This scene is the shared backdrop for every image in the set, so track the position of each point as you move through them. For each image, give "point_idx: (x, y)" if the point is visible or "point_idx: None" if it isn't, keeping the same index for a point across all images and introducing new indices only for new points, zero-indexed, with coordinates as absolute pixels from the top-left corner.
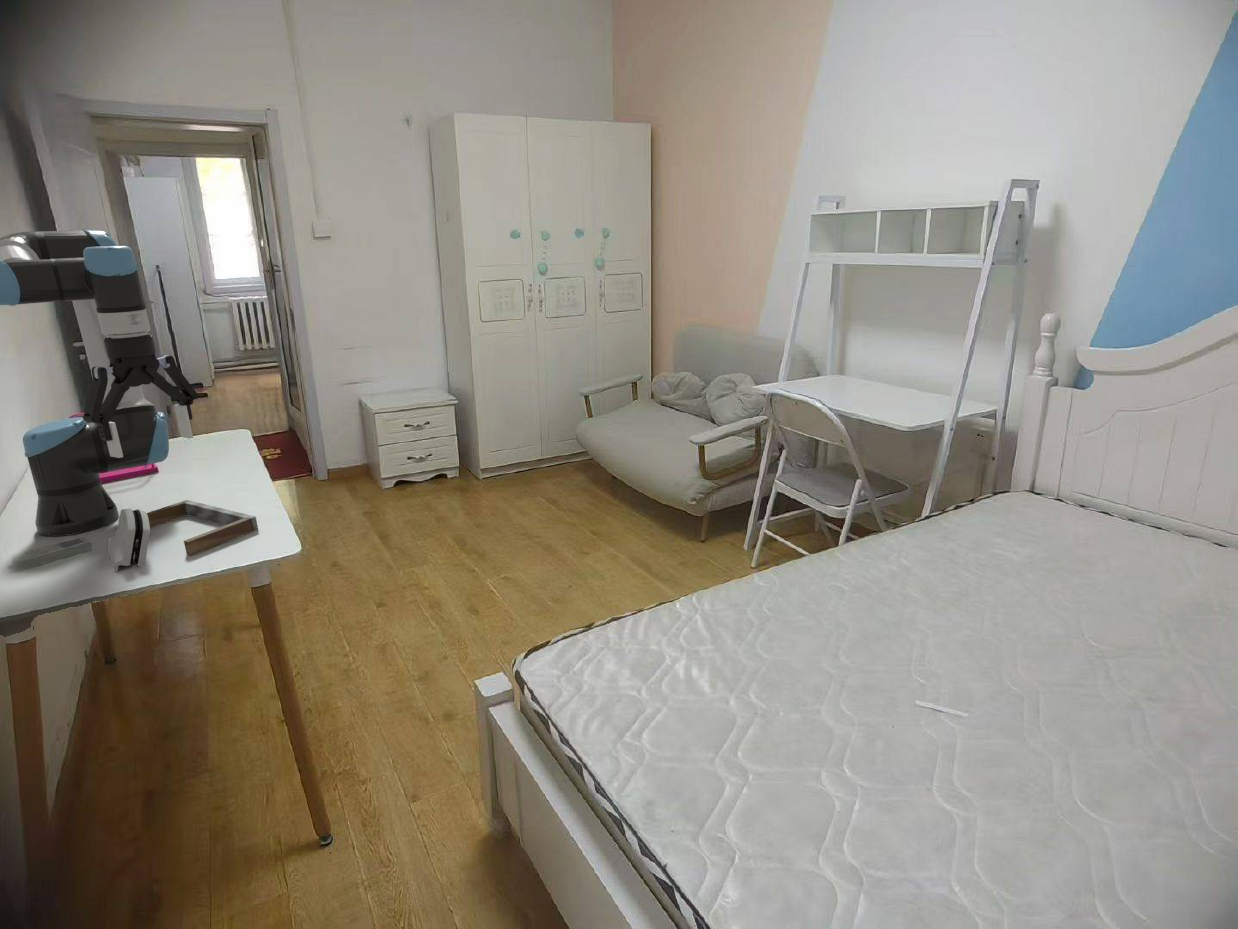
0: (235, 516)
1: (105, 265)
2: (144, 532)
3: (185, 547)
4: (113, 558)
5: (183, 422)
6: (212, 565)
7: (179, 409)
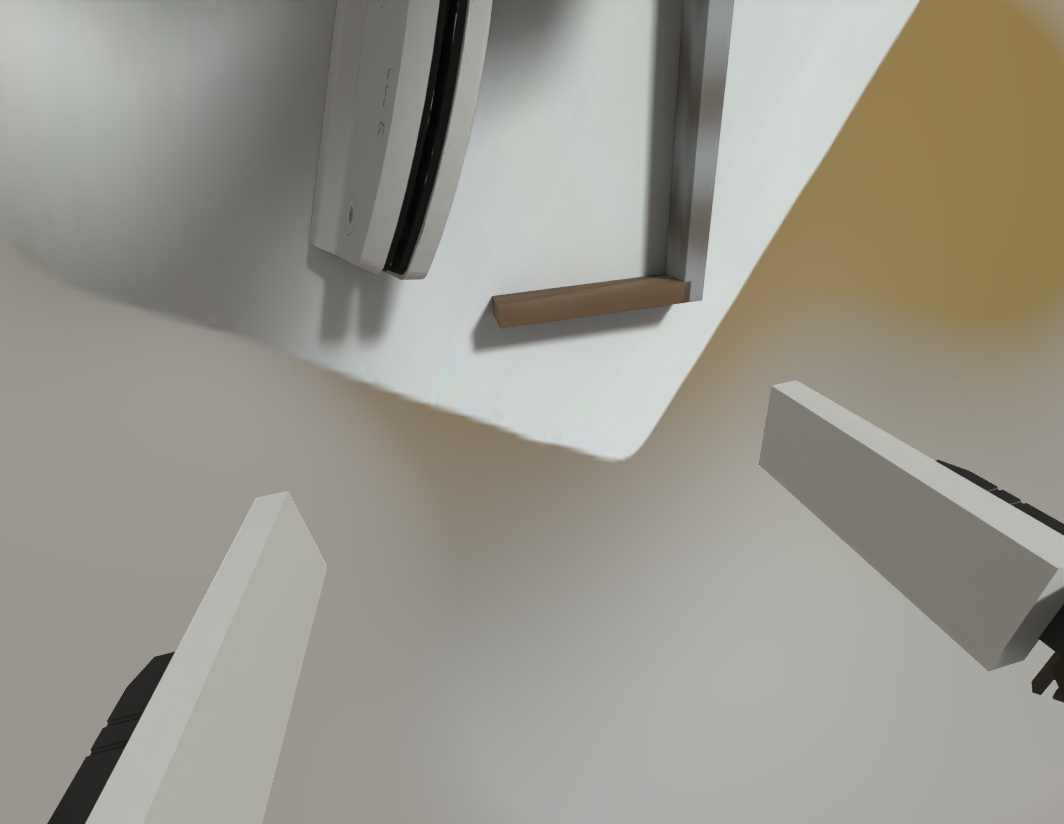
0: (687, 231)
1: None
2: (407, 278)
3: (495, 302)
4: (320, 173)
5: (849, 512)
6: (496, 414)
7: (972, 590)
